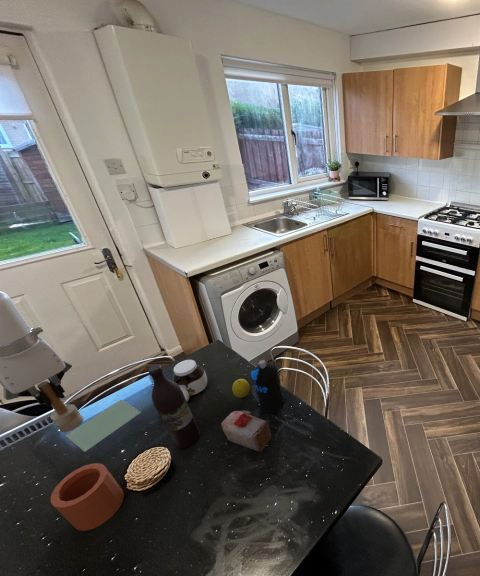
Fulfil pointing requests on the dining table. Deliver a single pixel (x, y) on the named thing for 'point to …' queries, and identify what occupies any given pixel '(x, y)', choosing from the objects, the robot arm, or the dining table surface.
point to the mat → (102, 425)
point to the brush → (61, 410)
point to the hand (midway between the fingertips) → (54, 399)
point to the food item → (246, 430)
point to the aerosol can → (268, 387)
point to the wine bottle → (173, 409)
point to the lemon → (241, 388)
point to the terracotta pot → (88, 496)
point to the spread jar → (190, 378)
